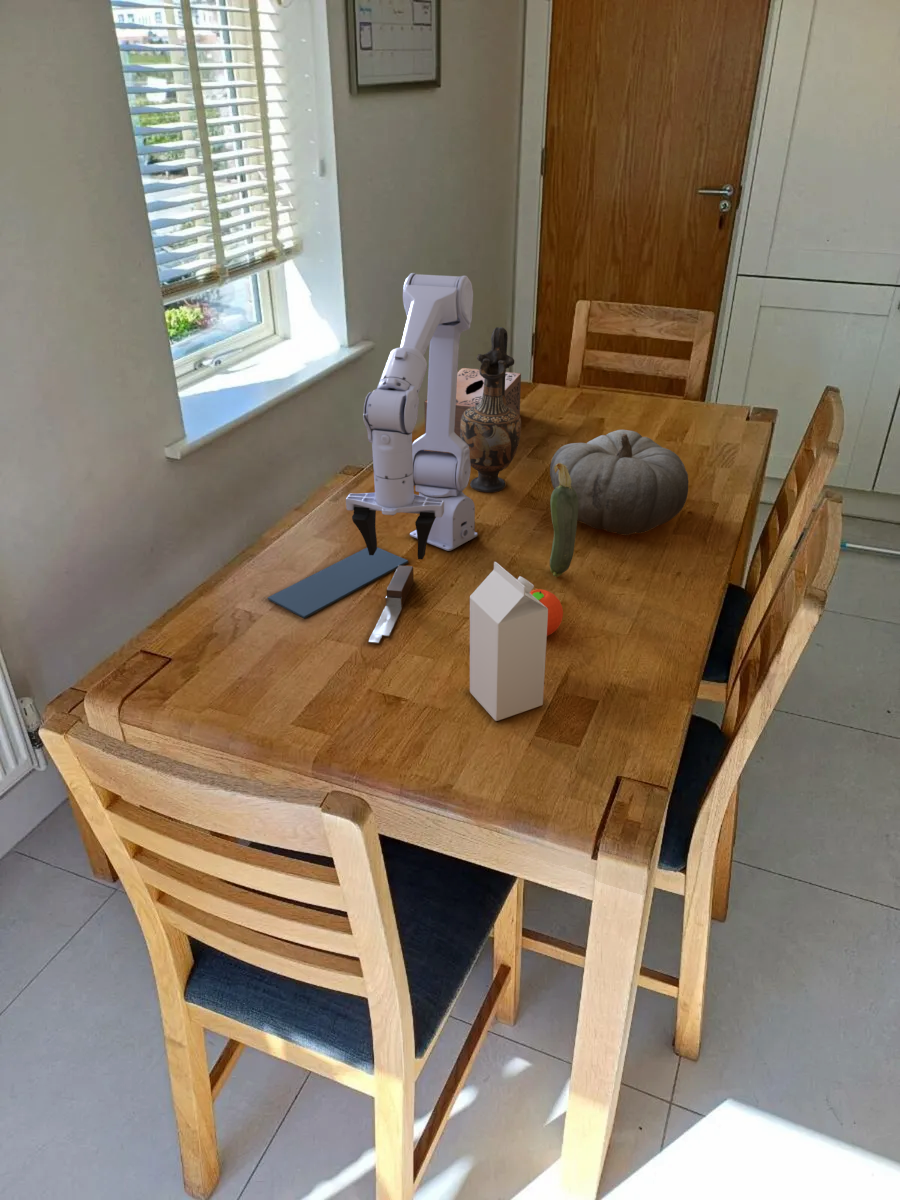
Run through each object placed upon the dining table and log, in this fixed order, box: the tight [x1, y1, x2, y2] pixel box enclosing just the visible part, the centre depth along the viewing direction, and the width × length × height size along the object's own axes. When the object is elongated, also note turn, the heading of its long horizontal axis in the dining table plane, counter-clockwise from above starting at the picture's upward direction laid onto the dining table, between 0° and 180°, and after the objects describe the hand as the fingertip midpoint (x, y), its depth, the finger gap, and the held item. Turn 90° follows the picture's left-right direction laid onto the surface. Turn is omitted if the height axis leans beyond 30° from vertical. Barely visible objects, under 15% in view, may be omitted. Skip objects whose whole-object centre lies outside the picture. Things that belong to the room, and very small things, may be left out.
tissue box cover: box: [423, 367, 522, 438], centre depth 199 cm, size 26×14×10 cm, turn 161°
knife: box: [367, 565, 415, 645], centre depth 134 cm, size 19×3×3 cm, turn 169°
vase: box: [460, 326, 522, 493], centre depth 167 cm, size 12×12×30 cm
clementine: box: [530, 588, 564, 637], centre depth 127 cm, size 8×7×7 cm
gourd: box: [549, 429, 689, 536], centre depth 157 cm, size 25×25×17 cm
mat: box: [267, 546, 409, 619], centre depth 143 cm, size 9×23×1 cm, turn 139°
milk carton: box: [469, 561, 548, 722], centre depth 111 cm, size 7×7×19 cm
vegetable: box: [549, 463, 578, 578], centre depth 137 cm, size 4×4×20 cm
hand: (397, 554), depth 134 cm, fingers open, 7 cm apart
